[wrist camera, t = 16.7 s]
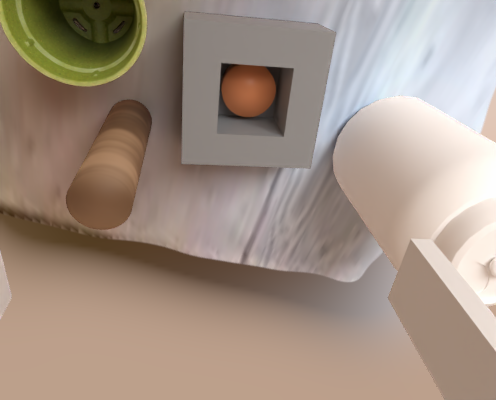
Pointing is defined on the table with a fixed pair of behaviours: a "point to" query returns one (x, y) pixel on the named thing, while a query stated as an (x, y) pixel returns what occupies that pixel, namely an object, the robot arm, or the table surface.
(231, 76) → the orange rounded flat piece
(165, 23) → the table surface
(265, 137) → the box
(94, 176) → the dowel
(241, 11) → the table surface
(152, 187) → the table surface
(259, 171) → the table surface
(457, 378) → the robot arm
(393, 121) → the can
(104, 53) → the plant pot
